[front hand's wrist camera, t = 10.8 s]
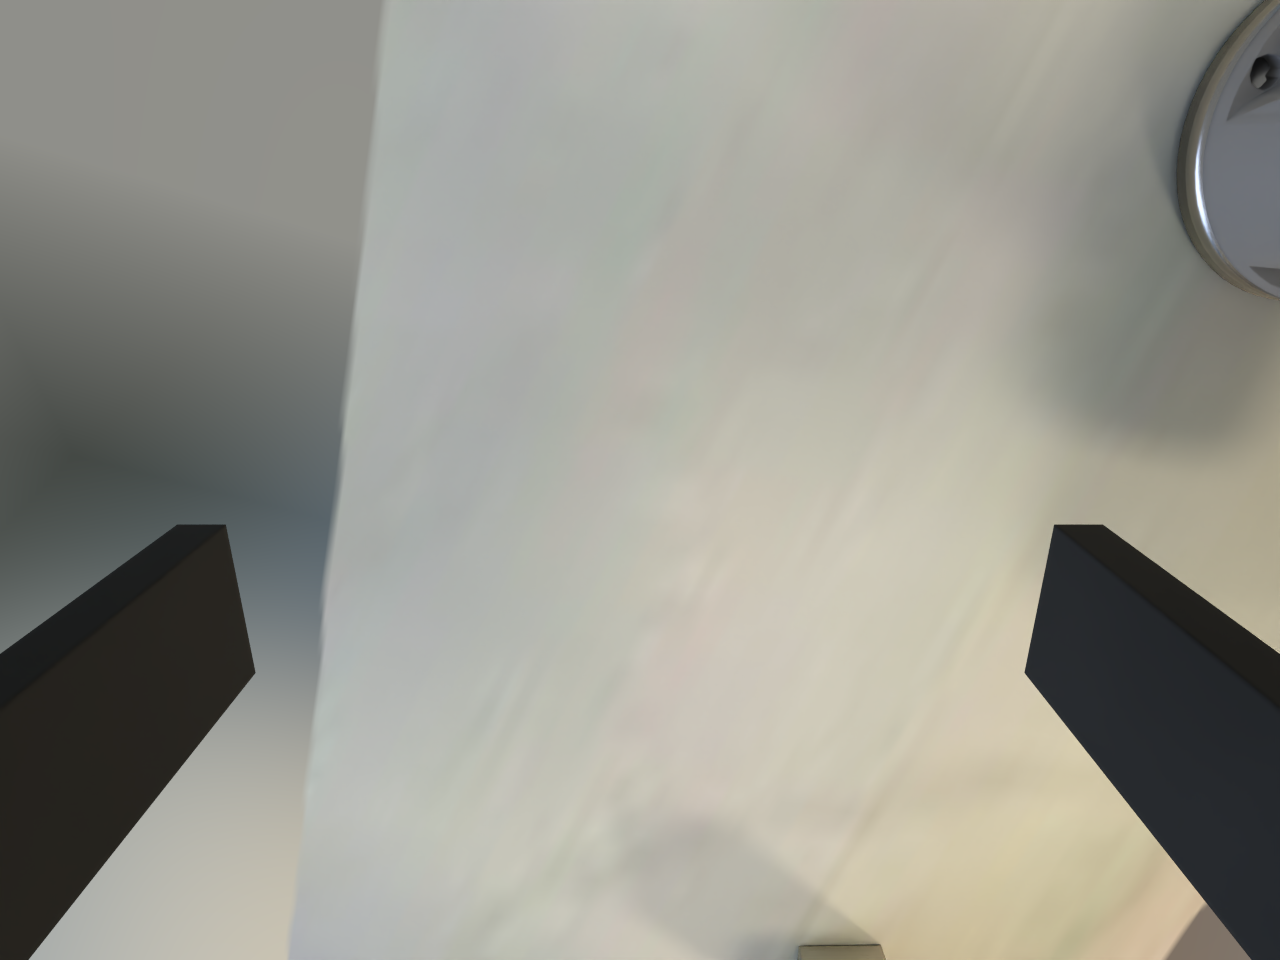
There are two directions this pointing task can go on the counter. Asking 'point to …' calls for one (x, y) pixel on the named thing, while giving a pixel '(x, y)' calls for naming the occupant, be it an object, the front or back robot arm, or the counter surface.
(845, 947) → the block
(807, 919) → the counter surface
